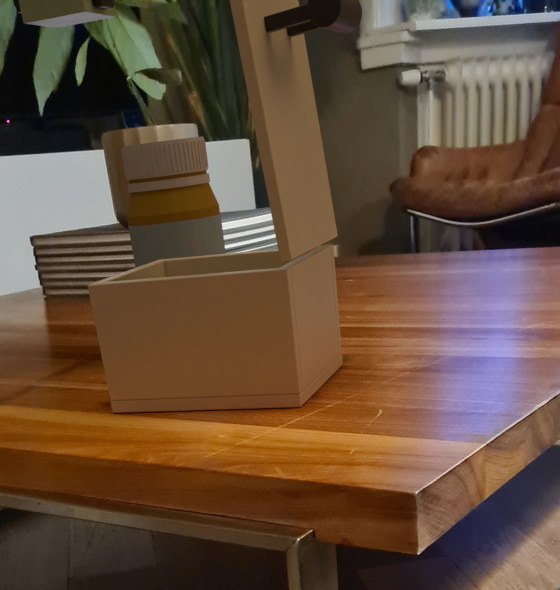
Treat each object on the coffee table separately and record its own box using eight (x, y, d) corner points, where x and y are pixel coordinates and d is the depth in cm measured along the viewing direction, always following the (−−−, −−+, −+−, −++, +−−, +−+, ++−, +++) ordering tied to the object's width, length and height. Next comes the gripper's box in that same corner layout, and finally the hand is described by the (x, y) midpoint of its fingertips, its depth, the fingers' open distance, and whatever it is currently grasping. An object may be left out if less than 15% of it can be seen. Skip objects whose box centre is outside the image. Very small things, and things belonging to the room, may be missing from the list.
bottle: (253, 345, 73) (227, 133, 66) (176, 364, 69) (140, 143, 63) (210, 337, 78) (181, 140, 71) (136, 355, 75) (99, 149, 68)
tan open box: (112, 413, 58) (86, 285, 55) (176, 372, 67) (158, 259, 64) (300, 407, 54) (287, 268, 51) (343, 364, 63) (333, 244, 60)
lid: (224, -23, 45) (318, -54, 43) (286, -3, 54) (367, -28, 52) (280, 262, 51) (365, 245, 49) (328, 238, 60) (401, 223, 58)
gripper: (137, -325, 57) (183, 1, 65) (-57, -265, 61) (8, 34, 69) (82, -377, 51) (140, -9, 59) (-130, -306, 55) (-49, 28, 63)
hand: (68, 13), depth 64 cm, fingers closed on block, 4 cm apart
